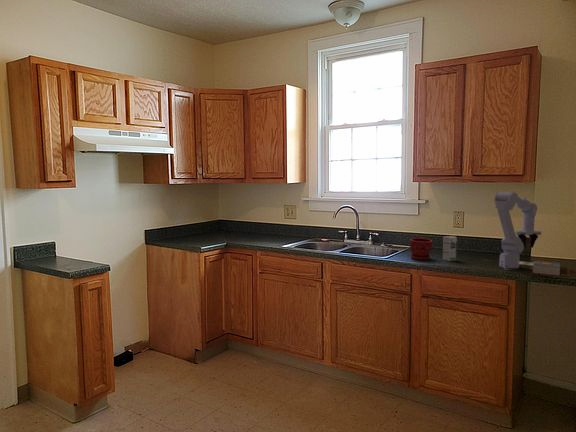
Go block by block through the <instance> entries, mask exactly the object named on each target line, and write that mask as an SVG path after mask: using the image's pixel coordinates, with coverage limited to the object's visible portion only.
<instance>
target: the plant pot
mask: <svg viewBox="0 0 576 432" xmlns="http://www.w3.org/2000/svg"><path fill="white" fill-rule="evenodd" d="M409 241H410V243H409V245H410V246H409V247H410V253H411V254H410V257H411V258H412V259H413V260H420V261H423V260H425V261H426V260H429V259H430V258H431V255H430V254H431V251H432V249H433V240H432V239H429V238H424V237H423V238H422V237H421V238H420V237H415V238H411V239H409Z"/></svg>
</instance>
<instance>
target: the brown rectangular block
mask: <svg viewBox="0 0 576 432" xmlns="http://www.w3.org/2000/svg"><path fill="white" fill-rule="evenodd" d="M523 251H531V238H529V236H527V238H526V243H525V248H524V249H523Z"/></svg>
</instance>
